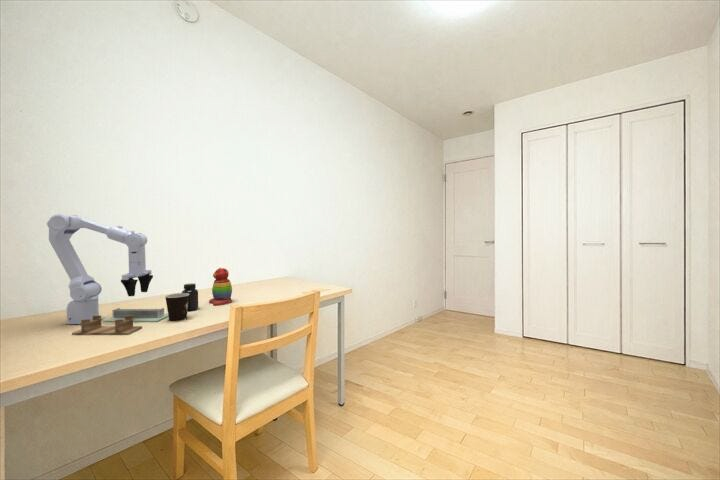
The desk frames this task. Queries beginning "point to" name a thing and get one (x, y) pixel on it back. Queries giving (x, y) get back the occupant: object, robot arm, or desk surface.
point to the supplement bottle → (191, 296)
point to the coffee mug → (177, 306)
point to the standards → (107, 327)
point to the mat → (139, 319)
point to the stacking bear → (221, 288)
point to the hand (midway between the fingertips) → (138, 294)
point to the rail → (138, 313)
